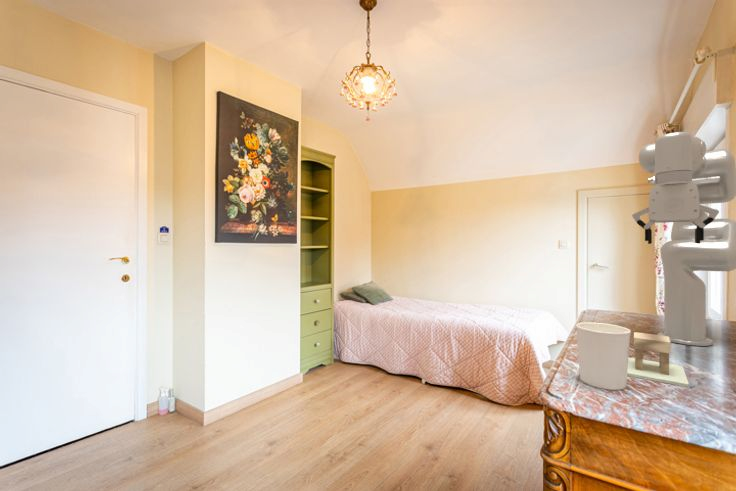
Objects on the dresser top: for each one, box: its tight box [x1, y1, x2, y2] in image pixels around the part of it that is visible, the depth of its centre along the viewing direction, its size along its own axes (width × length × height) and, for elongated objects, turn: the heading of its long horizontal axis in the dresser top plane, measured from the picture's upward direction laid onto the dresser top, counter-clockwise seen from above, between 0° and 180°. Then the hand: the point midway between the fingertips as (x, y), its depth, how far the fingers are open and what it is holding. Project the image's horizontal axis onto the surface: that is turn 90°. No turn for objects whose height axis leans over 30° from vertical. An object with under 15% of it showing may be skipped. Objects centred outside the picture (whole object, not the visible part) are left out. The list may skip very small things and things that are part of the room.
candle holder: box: [575, 321, 632, 391], centre depth 74 cm, size 10×10×12 cm
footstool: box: [633, 331, 672, 375], centre depth 81 cm, size 6×6×8 cm
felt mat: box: [627, 357, 690, 388], centre depth 81 cm, size 14×12×1 cm
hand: (672, 243), depth 92 cm, fingers open, 9 cm apart
